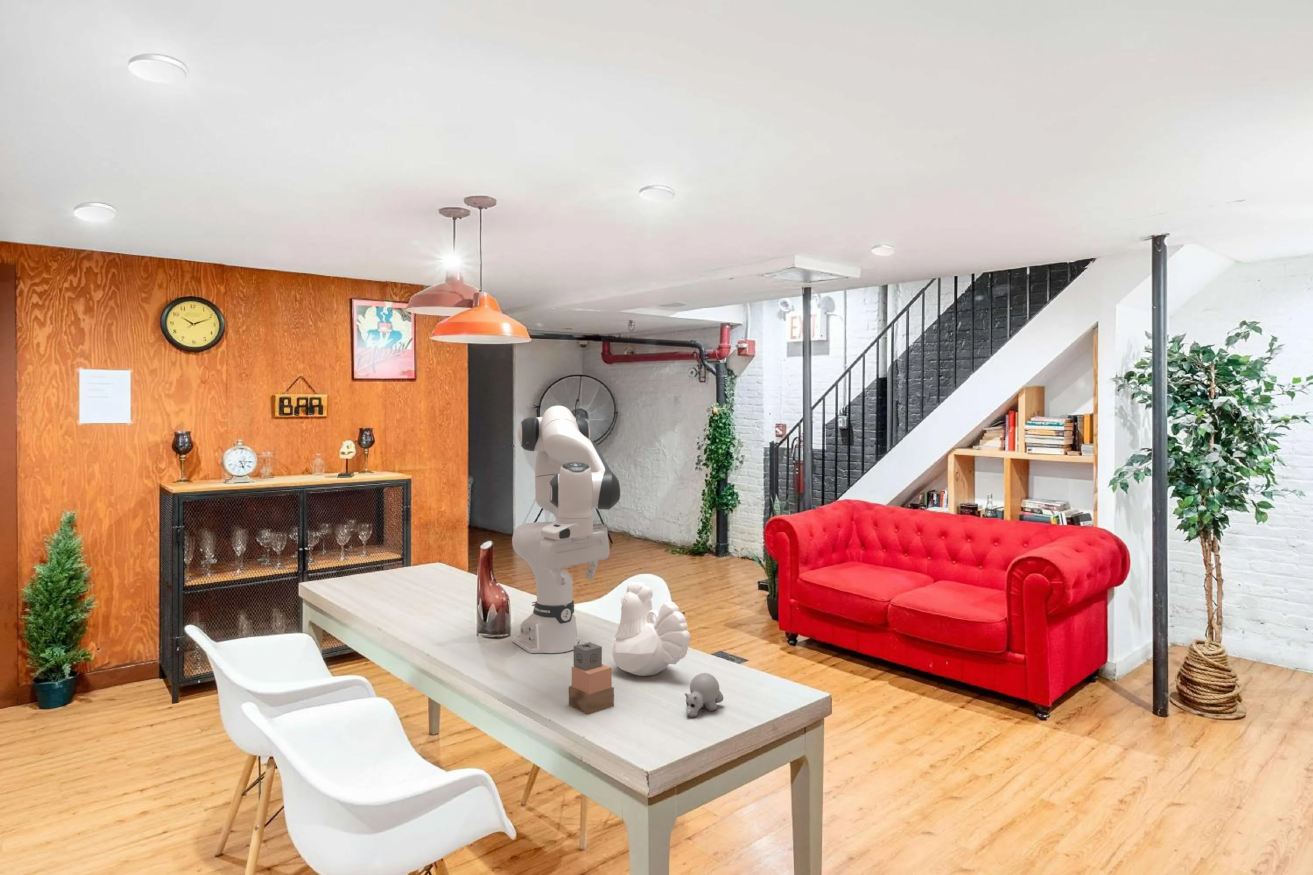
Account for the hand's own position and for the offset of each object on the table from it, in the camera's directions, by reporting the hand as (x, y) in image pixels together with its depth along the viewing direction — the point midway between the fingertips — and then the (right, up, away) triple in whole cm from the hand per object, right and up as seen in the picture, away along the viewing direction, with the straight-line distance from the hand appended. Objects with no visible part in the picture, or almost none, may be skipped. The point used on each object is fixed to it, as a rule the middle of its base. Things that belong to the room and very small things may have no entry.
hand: (575, 581), depth 193 cm
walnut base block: (+4, -30, -4) cm, 31 cm away
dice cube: (+3, -21, -3) cm, 21 cm away
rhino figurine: (+31, -31, -7) cm, 44 cm away
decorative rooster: (+19, -30, +19) cm, 40 cm away
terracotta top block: (+5, -25, -4) cm, 26 cm away
